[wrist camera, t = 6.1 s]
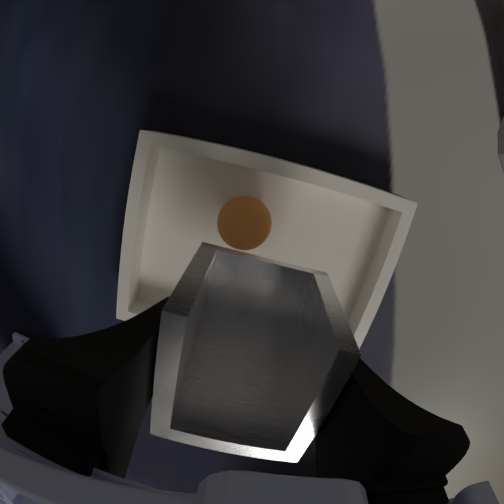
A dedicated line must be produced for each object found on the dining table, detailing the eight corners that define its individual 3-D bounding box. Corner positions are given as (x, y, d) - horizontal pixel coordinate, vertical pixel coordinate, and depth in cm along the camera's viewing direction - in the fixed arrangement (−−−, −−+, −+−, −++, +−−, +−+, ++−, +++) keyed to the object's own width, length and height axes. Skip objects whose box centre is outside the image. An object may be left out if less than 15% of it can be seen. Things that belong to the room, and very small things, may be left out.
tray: (129, 301, 22) (116, 318, 20) (154, 130, 18) (139, 129, 16) (341, 351, 23) (347, 371, 20) (401, 196, 19) (417, 203, 17)
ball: (240, 183, 19) (214, 225, 20) (230, 187, 16) (200, 236, 17) (283, 211, 19) (255, 252, 20) (281, 220, 16) (249, 268, 17)
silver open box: (183, 344, 16) (150, 433, 10) (202, 241, 14) (161, 310, 8) (289, 369, 16) (296, 462, 10) (327, 272, 14) (360, 354, 8)
